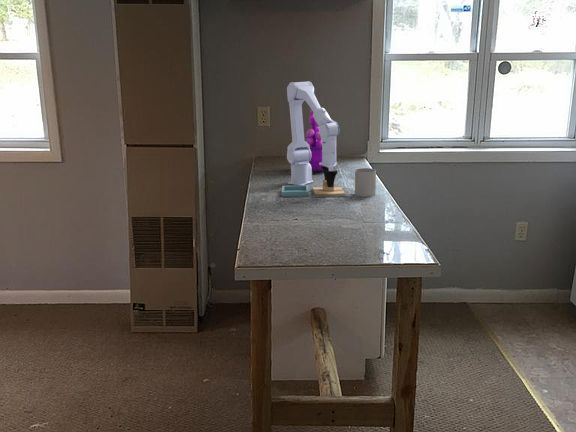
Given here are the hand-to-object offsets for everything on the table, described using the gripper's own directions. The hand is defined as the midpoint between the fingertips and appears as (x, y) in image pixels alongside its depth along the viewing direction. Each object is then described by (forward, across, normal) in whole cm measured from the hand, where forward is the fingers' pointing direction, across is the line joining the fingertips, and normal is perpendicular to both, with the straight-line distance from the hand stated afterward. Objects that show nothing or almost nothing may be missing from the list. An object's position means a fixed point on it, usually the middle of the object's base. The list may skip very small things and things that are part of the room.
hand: (329, 184), depth 253 cm
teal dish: (+3, -1, -14) cm, 14 cm away
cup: (+4, +4, +14) cm, 15 cm away
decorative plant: (+4, -46, -2) cm, 47 cm away
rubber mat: (+3, 0, 0) cm, 3 cm away
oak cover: (+3, 0, 0) cm, 3 cm away
